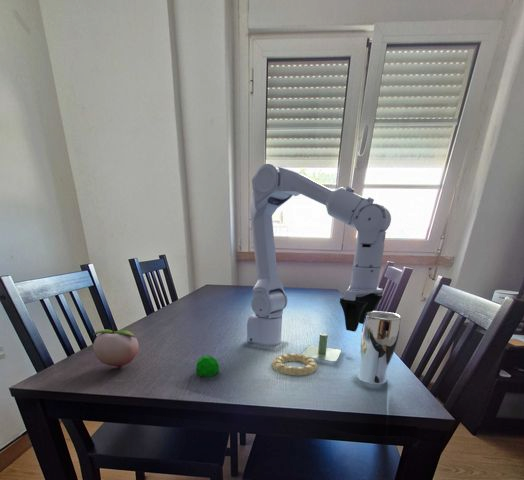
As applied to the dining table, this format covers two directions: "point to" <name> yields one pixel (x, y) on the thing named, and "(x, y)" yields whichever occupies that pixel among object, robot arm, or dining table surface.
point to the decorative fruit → (115, 347)
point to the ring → (289, 370)
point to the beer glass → (378, 345)
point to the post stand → (322, 350)
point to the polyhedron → (207, 366)
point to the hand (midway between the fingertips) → (357, 327)
